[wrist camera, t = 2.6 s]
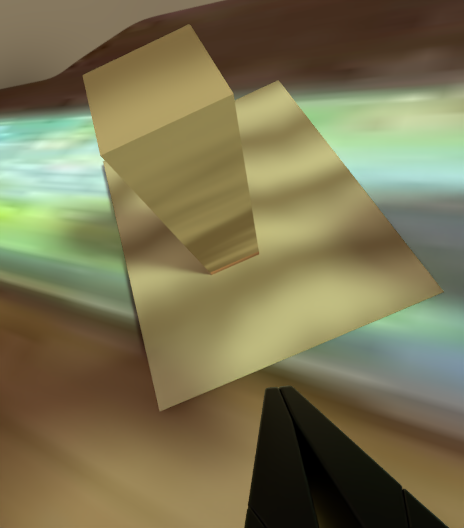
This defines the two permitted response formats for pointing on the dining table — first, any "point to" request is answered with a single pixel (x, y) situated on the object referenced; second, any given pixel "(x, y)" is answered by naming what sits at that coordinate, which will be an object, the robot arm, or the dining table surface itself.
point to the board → (266, 261)
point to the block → (178, 144)
